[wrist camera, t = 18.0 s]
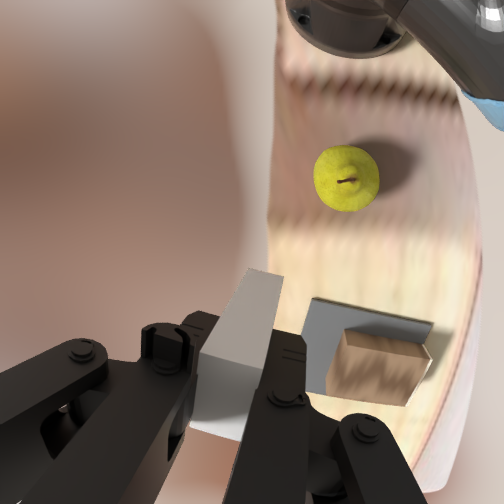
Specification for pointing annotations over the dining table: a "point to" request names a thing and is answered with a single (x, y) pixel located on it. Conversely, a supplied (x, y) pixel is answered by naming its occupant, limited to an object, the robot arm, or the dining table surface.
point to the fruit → (346, 178)
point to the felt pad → (331, 328)
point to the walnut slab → (376, 369)
